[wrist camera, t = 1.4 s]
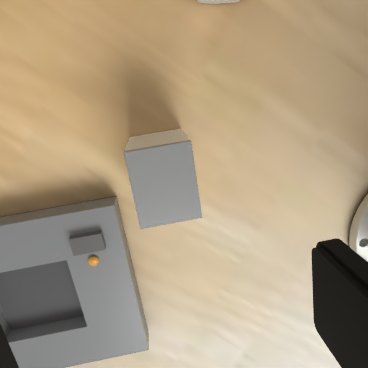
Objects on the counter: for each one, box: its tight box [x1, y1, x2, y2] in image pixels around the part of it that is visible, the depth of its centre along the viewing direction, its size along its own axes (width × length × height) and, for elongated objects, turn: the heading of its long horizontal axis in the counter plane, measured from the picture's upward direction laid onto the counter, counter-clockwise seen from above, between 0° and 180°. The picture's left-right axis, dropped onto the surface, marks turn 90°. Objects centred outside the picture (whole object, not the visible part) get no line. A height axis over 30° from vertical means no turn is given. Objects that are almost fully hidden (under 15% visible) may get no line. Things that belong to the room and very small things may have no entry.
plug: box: [124, 129, 202, 229], centre depth 22 cm, size 4×5×6 cm
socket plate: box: [0, 196, 149, 368], centre depth 26 cm, size 16×14×3 cm
